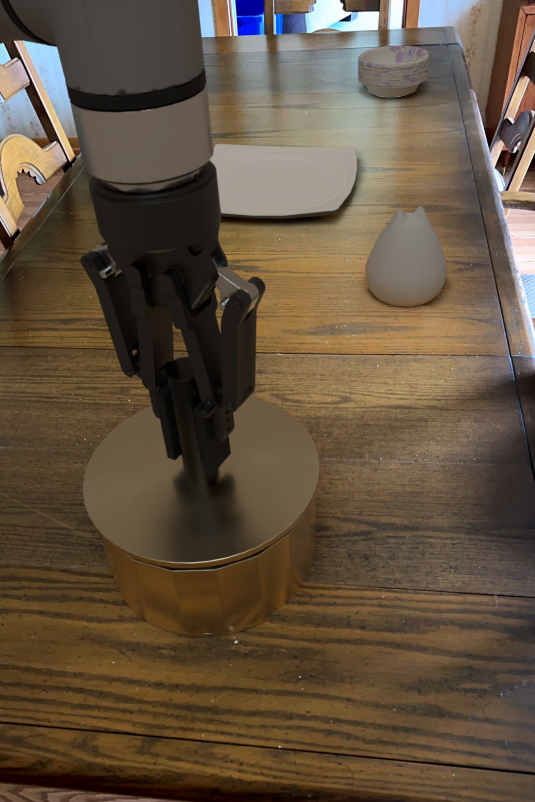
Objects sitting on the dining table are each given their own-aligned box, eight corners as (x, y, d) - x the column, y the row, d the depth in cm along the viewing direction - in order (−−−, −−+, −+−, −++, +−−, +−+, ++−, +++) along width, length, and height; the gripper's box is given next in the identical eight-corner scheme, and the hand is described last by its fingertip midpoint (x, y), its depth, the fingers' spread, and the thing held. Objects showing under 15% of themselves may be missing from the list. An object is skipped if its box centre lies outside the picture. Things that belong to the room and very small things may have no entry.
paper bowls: (344, 98, 157) (345, 59, 152) (377, 78, 167) (379, 41, 162) (407, 107, 150) (410, 67, 145) (438, 87, 160) (442, 48, 154)
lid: (35, 515, 56) (-9, 407, 49) (177, 380, 68) (158, 278, 61) (239, 614, 48) (223, 502, 41) (358, 441, 60) (362, 332, 53)
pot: (70, 583, 62) (44, 516, 56) (190, 452, 74) (179, 386, 68) (246, 676, 54) (236, 610, 49) (349, 513, 66) (351, 445, 61)
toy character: (427, 268, 99) (436, 186, 92) (455, 308, 91) (467, 221, 84) (355, 279, 98) (357, 196, 91) (377, 320, 90) (381, 233, 83)
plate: (213, 155, 136) (211, 141, 134) (363, 158, 131) (364, 143, 129) (166, 223, 115) (164, 207, 113) (344, 230, 109) (344, 214, 108)
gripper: (302, 162, 41) (310, 457, 56) (90, 127, 47) (148, 399, 62) (231, 216, 36) (261, 523, 51) (7, 169, 43) (92, 453, 58)
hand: (199, 455), depth 57 cm, fingers closed on lid, 3 cm apart
